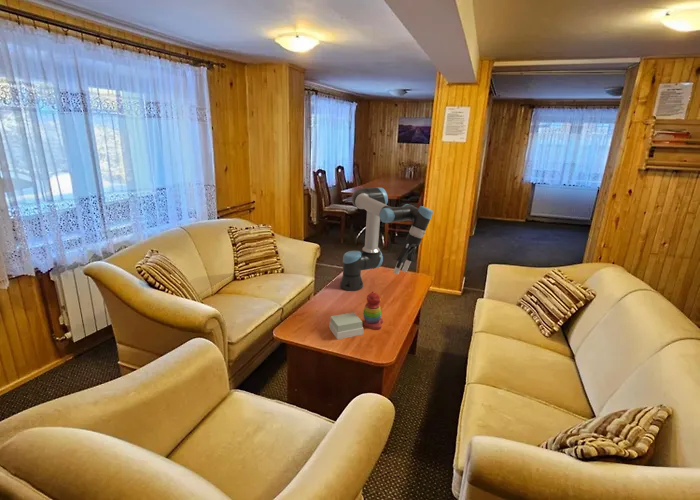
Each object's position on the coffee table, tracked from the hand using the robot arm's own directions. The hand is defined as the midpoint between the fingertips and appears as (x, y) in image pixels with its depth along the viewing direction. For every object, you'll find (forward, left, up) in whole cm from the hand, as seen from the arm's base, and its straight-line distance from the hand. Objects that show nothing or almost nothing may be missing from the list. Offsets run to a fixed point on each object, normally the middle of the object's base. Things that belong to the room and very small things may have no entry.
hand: (399, 272), depth 200 cm
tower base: (+4, -32, -27) cm, 42 cm away
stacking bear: (+2, -16, -27) cm, 31 cm away
